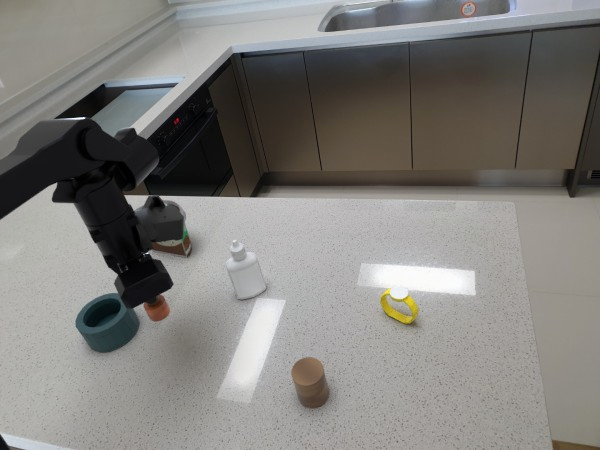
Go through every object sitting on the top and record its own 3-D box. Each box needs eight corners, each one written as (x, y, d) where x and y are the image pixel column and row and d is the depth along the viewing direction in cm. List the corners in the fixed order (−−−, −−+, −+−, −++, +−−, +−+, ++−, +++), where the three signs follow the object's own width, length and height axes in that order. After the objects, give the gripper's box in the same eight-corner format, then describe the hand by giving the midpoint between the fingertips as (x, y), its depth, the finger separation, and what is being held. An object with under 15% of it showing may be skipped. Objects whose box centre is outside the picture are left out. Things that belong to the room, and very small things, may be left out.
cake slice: (209, 239, 98) (195, 201, 92) (193, 259, 94) (177, 220, 88) (164, 232, 103) (147, 195, 97) (147, 250, 99) (128, 212, 93)
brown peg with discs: (155, 325, 68) (136, 289, 63) (145, 314, 70) (126, 279, 65) (174, 312, 69) (156, 276, 65) (164, 302, 71) (146, 266, 67)
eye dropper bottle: (263, 300, 81) (247, 249, 74) (233, 300, 82) (214, 250, 75) (268, 282, 84) (253, 232, 77) (239, 282, 86) (222, 233, 78)
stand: (312, 414, 62) (306, 391, 59) (291, 394, 65) (284, 372, 62) (335, 392, 64) (330, 369, 61) (314, 374, 67) (308, 351, 64)
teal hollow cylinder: (99, 361, 76) (86, 342, 73) (81, 333, 82) (68, 315, 79) (147, 328, 80) (136, 309, 77) (126, 304, 86) (115, 285, 83)
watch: (378, 315, 74) (375, 290, 70) (387, 304, 75) (385, 278, 72) (412, 331, 70) (411, 305, 67) (421, 319, 72) (420, 293, 68)
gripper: (191, 216, 54) (226, 306, 63) (145, 162, 67) (179, 243, 77) (98, 260, 50) (149, 349, 59) (69, 193, 64) (115, 275, 73)
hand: (151, 298), depth 67 cm, fingers closed on brown peg with discs, 2 cm apart
